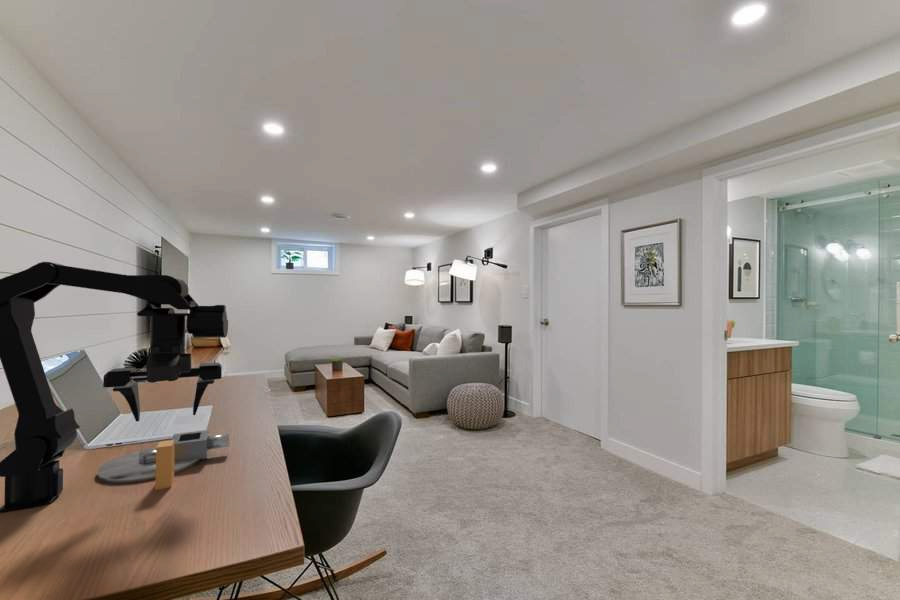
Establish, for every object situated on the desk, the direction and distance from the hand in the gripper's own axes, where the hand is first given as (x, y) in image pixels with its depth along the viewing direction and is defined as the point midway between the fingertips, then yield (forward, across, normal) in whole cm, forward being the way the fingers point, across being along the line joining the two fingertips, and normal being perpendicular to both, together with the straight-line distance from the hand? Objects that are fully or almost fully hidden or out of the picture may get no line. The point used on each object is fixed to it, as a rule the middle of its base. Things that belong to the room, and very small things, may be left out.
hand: (166, 417), depth 80 cm
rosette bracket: (+13, -1, +13) cm, 18 cm away
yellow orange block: (+13, 0, 0) cm, 13 cm away
